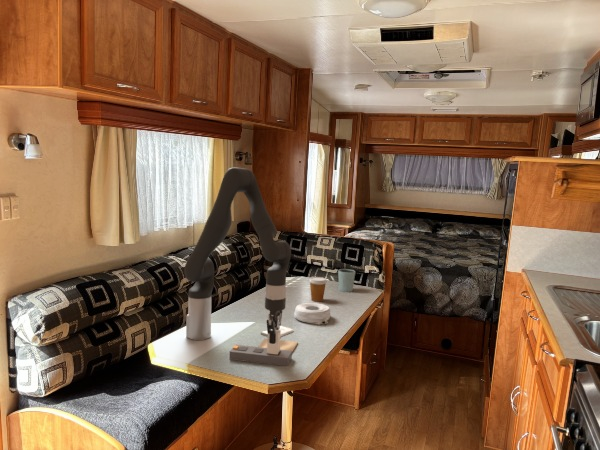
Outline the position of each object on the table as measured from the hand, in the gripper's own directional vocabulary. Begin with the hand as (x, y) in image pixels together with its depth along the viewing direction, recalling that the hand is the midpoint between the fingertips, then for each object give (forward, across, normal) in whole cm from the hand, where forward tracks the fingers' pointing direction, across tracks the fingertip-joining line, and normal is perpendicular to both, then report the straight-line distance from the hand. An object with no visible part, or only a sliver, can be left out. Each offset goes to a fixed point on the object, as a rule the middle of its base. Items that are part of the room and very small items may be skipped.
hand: (273, 341), depth 170 cm
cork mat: (+7, -14, -2) cm, 16 cm away
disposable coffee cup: (+8, -85, +2) cm, 85 cm away
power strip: (+7, 0, -5) cm, 9 cm away
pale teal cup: (+8, -112, +15) cm, 113 cm away
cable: (+8, -53, +5) cm, 54 cm away
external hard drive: (+8, -29, -6) cm, 30 cm away
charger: (+4, 0, 0) cm, 4 cm away
